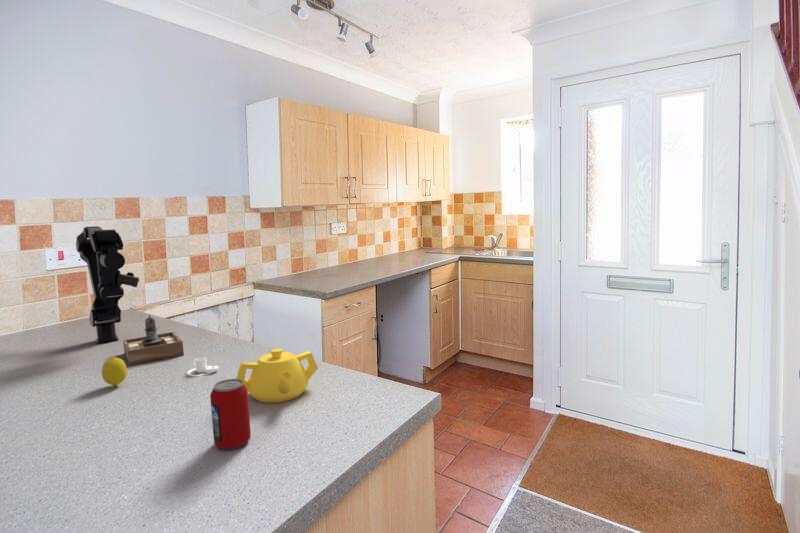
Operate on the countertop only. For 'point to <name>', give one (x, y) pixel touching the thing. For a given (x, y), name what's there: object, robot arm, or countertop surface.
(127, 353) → the walnut box
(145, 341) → the grey stone tall piece
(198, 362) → the teacup and saucer
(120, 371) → the lemon
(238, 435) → the beverage can
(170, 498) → the countertop surface
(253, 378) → the teapot
